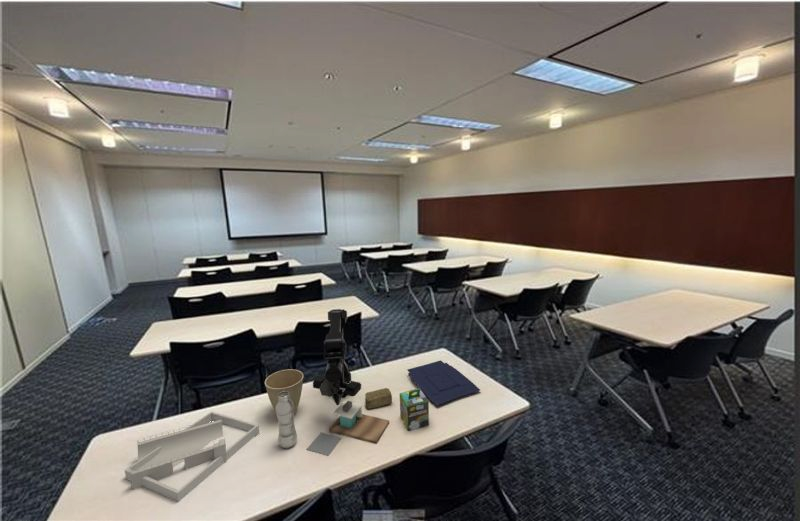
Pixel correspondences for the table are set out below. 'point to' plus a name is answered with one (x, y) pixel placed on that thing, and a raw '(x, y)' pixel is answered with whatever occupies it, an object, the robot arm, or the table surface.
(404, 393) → the chalk box
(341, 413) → the cover
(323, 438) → the slate mat
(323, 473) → the table surface
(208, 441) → the skate ramp
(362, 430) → the brown wooden board
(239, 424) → the organizer tray
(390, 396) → the stone block
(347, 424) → the teal block
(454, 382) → the navy folded cloth
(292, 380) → the plant pot
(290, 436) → the plastic bottle
